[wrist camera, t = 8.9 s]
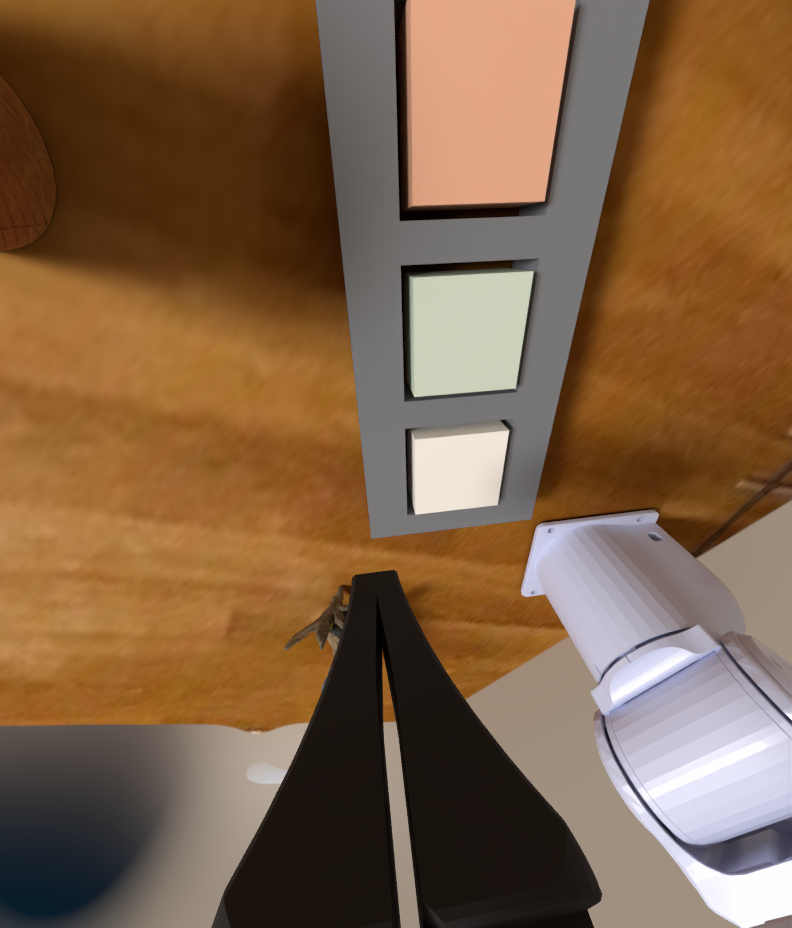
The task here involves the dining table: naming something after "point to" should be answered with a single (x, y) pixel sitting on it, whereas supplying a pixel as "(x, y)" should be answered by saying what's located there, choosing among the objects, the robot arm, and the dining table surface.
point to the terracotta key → (479, 100)
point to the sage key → (464, 329)
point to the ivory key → (456, 465)
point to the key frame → (465, 248)
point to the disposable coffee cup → (22, 175)
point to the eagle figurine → (326, 625)
